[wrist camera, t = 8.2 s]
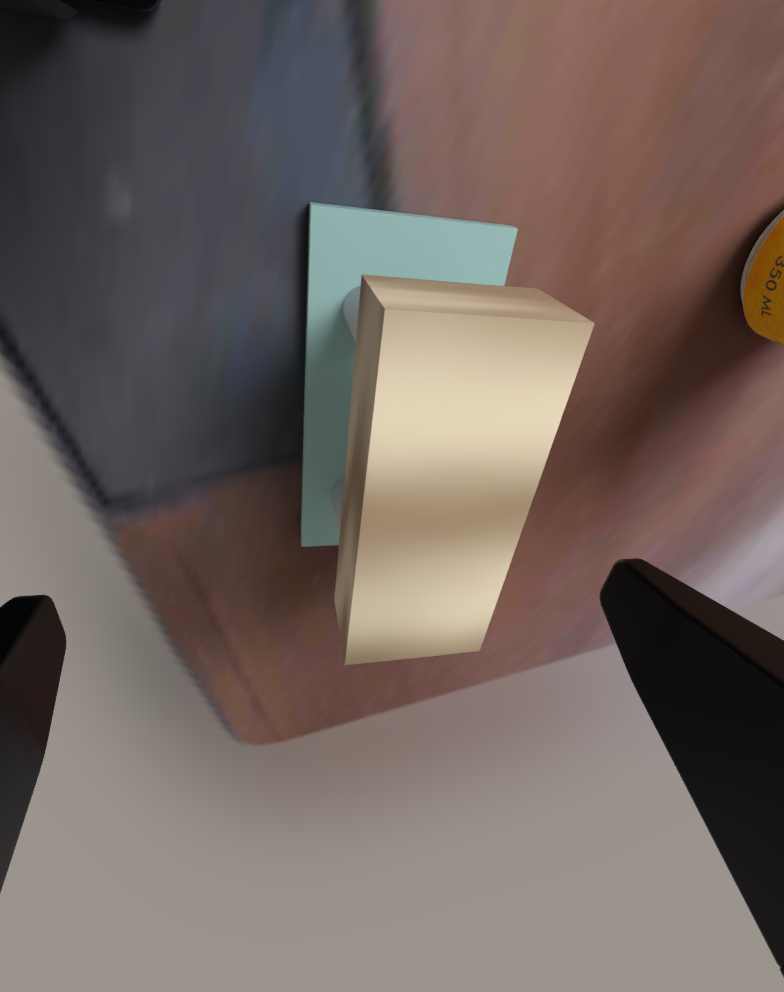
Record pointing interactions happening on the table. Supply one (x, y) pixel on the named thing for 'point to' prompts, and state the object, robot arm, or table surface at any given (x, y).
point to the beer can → (766, 283)
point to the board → (444, 456)
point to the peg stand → (334, 316)
